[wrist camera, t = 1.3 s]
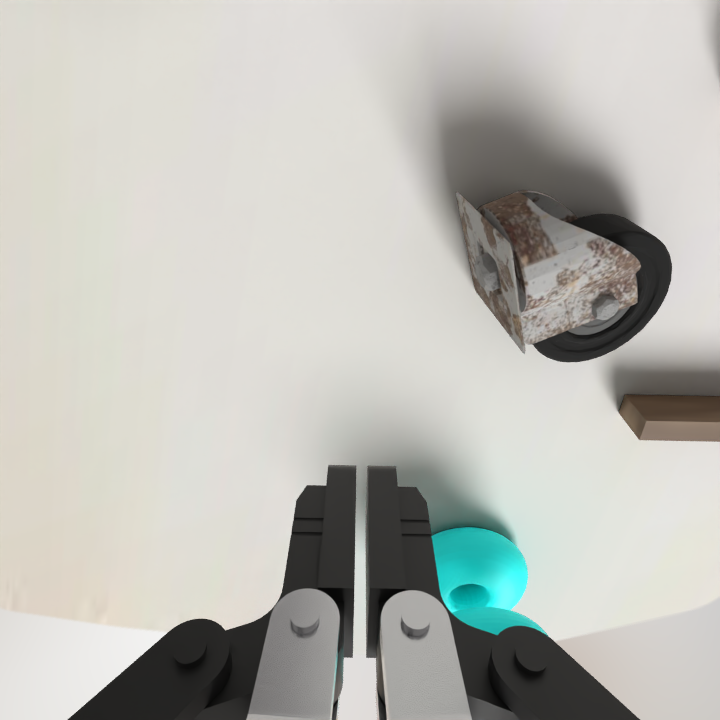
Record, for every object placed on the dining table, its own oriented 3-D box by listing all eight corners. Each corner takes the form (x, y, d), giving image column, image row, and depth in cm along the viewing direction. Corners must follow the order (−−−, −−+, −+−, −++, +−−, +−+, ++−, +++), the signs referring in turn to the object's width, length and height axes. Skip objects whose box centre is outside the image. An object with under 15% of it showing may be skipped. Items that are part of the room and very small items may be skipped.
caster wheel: (620, 293, 33) (478, 348, 34) (625, 120, 26) (445, 193, 27) (692, 353, 28) (524, 417, 29) (723, 159, 21) (497, 249, 21)
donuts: (457, 626, 31) (594, 664, 32) (436, 504, 39) (545, 540, 41) (387, 707, 35) (512, 737, 37) (382, 581, 44) (483, 611, 46)
